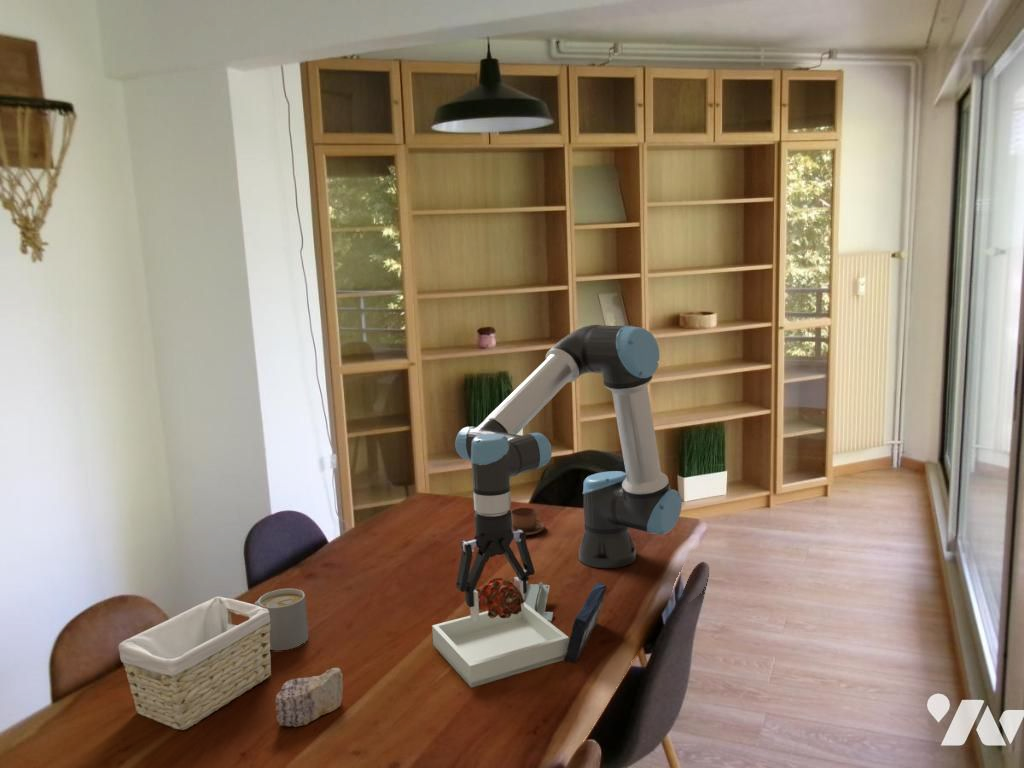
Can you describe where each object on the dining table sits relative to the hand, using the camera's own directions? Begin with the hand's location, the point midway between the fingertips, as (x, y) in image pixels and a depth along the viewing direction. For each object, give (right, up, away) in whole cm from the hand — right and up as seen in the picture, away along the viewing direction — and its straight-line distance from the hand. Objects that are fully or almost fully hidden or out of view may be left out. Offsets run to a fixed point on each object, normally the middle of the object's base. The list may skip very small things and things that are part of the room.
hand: (497, 614), depth 171 cm
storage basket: (-57, -13, -10) cm, 59 cm away
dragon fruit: (0, 0, 0) cm, 0 cm away
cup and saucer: (+7, +4, +73) cm, 73 cm away
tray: (0, -8, +1) cm, 8 cm away
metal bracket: (+6, -5, +21) cm, 23 cm away
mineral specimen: (-35, -13, -18) cm, 42 cm away
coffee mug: (-48, -9, +12) cm, 50 cm away
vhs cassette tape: (+18, -7, +4) cm, 20 cm away
